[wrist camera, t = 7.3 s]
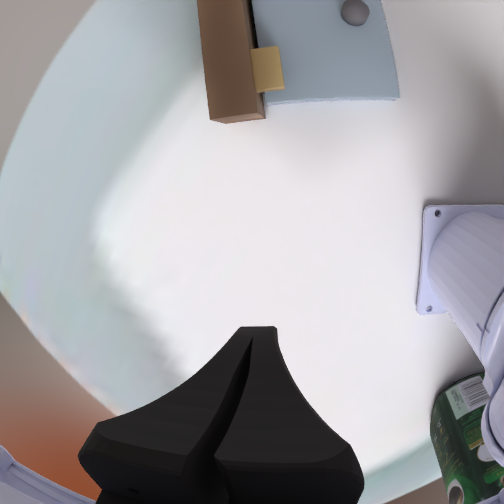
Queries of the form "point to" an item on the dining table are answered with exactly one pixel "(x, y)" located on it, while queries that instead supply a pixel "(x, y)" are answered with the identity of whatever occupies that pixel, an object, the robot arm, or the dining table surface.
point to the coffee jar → (464, 443)
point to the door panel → (328, 49)
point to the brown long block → (235, 62)
